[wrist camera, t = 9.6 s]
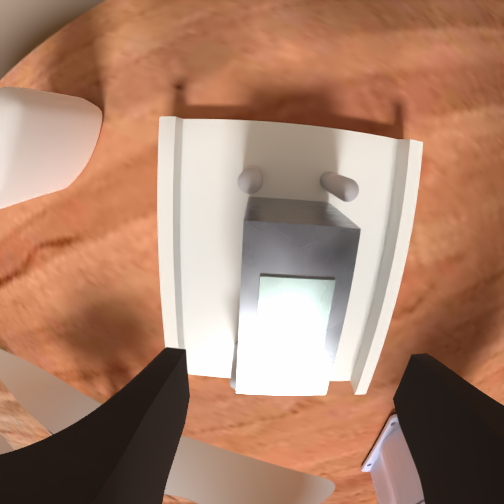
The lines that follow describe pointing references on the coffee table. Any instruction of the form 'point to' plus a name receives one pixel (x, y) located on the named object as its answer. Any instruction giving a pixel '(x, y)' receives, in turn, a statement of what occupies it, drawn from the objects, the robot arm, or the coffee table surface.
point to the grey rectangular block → (292, 294)
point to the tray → (284, 187)
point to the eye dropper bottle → (43, 141)
